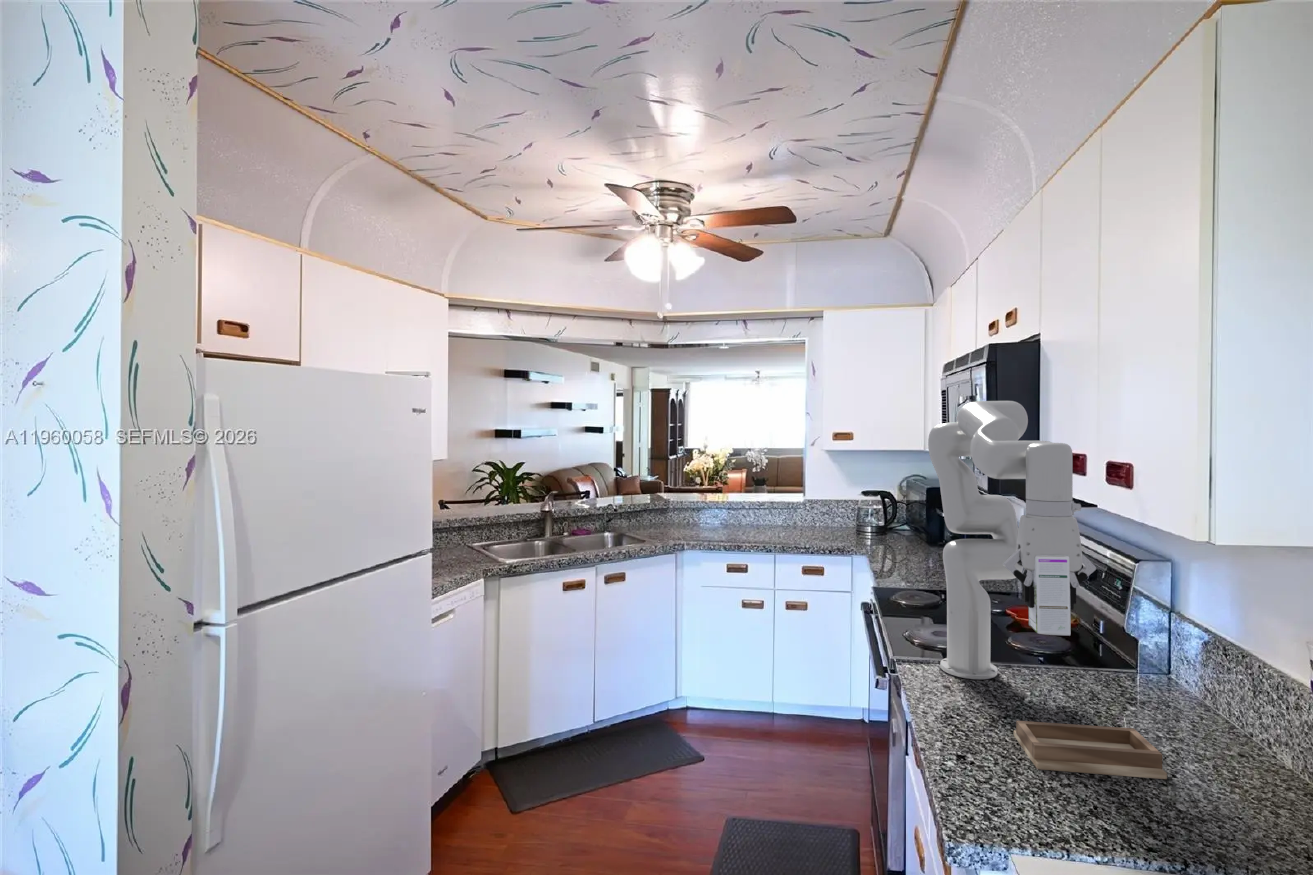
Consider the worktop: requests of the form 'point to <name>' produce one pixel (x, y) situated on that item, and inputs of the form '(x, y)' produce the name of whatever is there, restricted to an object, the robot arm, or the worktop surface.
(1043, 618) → the syrup box
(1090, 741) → the brown wooden tray
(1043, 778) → the worktop surface
